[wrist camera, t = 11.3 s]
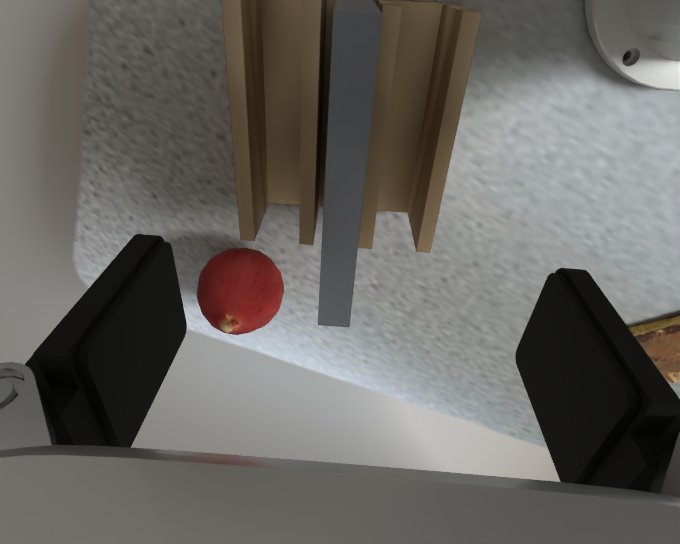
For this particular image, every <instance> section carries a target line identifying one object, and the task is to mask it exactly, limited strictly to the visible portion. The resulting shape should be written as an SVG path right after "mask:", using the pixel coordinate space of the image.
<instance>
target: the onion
mask: <svg viewBox="0 0 680 544" xmlns="http://www.w3.org/2000/svg"><path fill="white" fill-rule="evenodd" d="M283 293H284V284H283V280H282V276H281V272H280V271H279V269H278V268H277V267H276V265H275V264H274V263H273V261H272V260H271V259H270V258H269V257H267V256H266V255H264V254H263V253H261V252H260V251H256V250H252V249H248V248H238V249H229V250H226V251H224V252H221V253H219V254H217V255H215V256H214V257H213V258H212V259H211V260H210V261H209V262H208V263H207V265H206V266H205V267H204V269H203V270H202V271H201V274H200V277H199V282H198V289H197V299H198V302H199V306H200V309H201V312H202V314H203V315H204V316H205V318H206V319H207V320H208V321H209V323H210V324H211V325H212V326H213V327H215V328H216V329H218V330H220V331H222V332H224V333H228V334H234V335H239V334H244V333H249V332H252V331H254V330H256V329H259V328H261V327H263V326H265V325H266V324H268V323H269V322H270V320H271V319H272V318H273V317H274V316H275V315H276V313H277V312H278V310H279V308H280V305H281V301H282V297H283Z"/></svg>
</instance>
